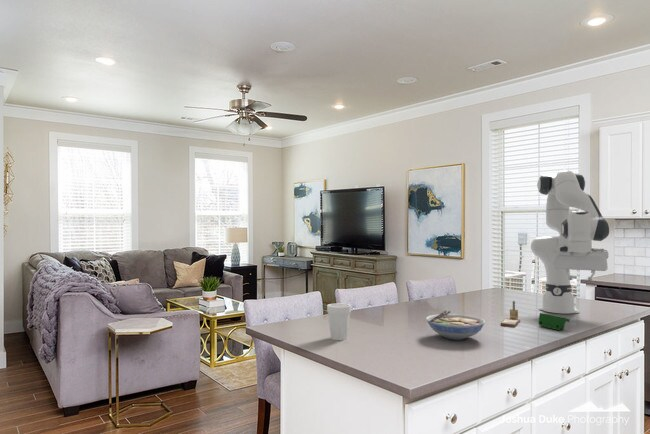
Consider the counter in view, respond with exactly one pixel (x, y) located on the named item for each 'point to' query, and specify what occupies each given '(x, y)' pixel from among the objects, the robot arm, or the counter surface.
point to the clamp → (552, 321)
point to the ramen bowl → (455, 325)
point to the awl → (513, 312)
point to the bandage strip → (510, 322)
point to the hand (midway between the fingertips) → (580, 280)
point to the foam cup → (339, 320)
